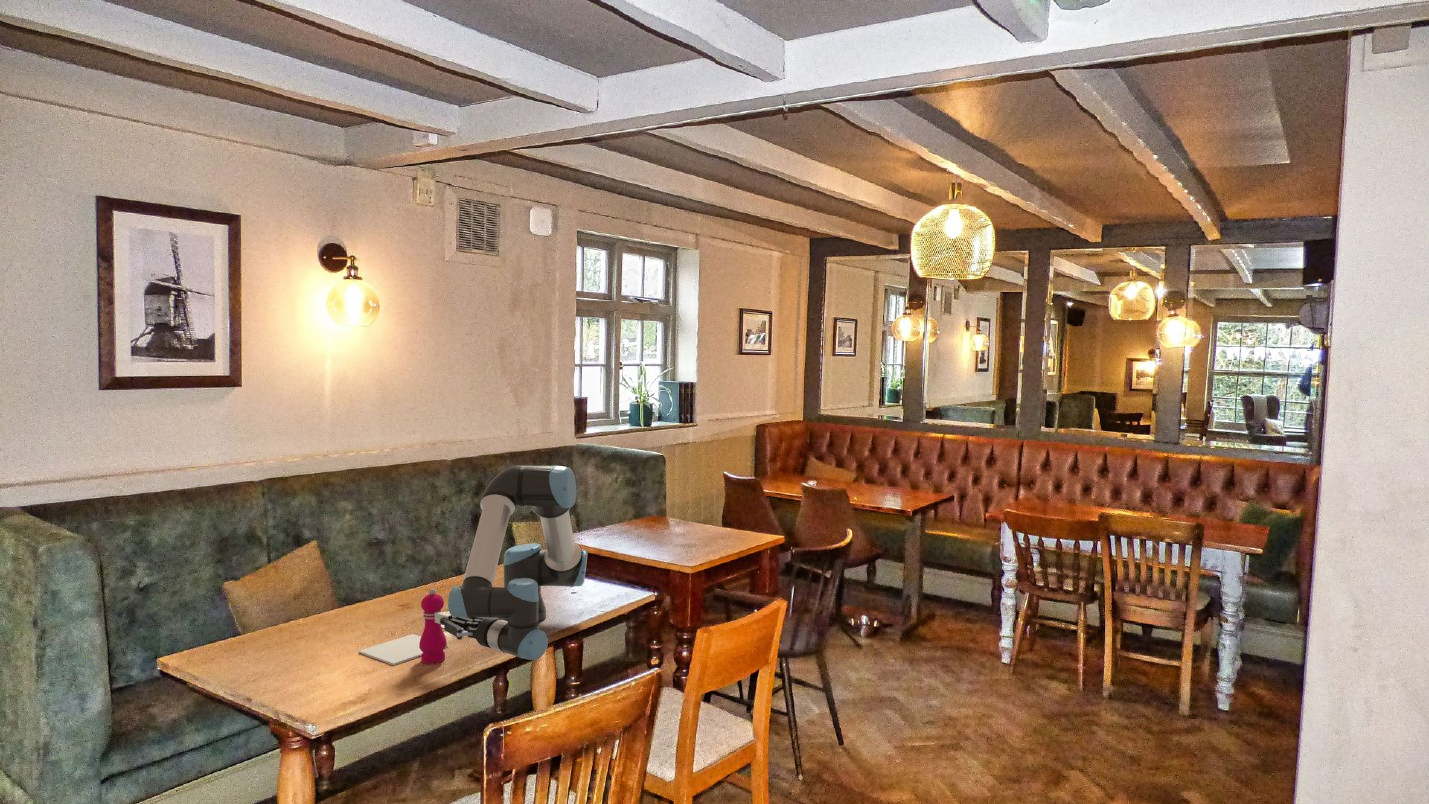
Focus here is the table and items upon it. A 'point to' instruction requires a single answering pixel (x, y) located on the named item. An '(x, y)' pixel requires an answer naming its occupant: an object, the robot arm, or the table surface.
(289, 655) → the table surface
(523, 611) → the robot arm
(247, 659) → the table surface
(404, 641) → the grey rubber mat
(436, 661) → the pepper mill
